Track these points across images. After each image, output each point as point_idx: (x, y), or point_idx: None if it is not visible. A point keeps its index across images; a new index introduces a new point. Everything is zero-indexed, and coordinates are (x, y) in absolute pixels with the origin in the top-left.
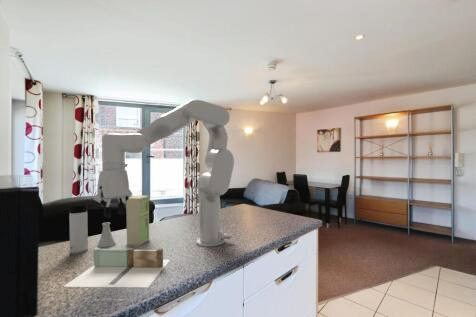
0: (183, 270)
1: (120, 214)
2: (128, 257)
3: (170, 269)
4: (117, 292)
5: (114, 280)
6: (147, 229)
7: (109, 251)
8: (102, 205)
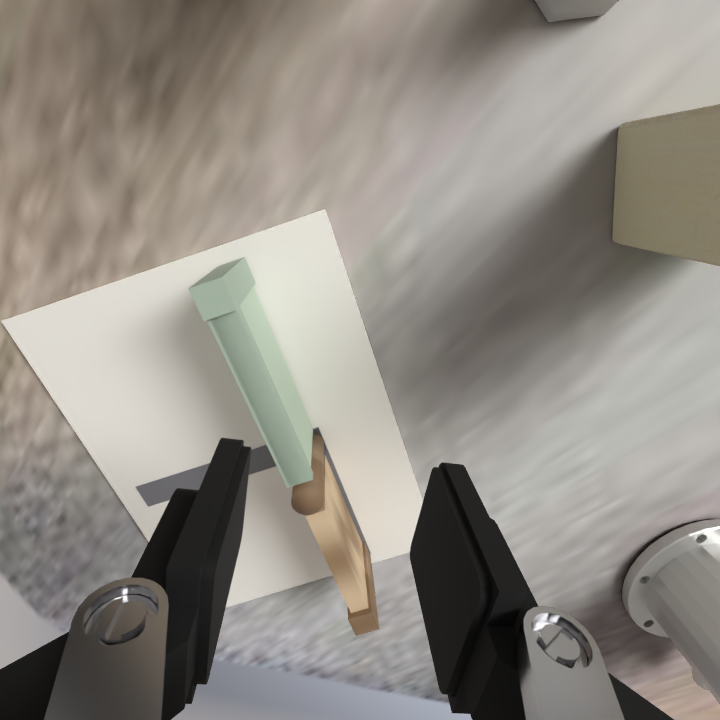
0: None
1: (420, 513)
2: None
3: None
4: (123, 549)
5: (169, 484)
6: None
7: (242, 391)
8: (64, 642)
